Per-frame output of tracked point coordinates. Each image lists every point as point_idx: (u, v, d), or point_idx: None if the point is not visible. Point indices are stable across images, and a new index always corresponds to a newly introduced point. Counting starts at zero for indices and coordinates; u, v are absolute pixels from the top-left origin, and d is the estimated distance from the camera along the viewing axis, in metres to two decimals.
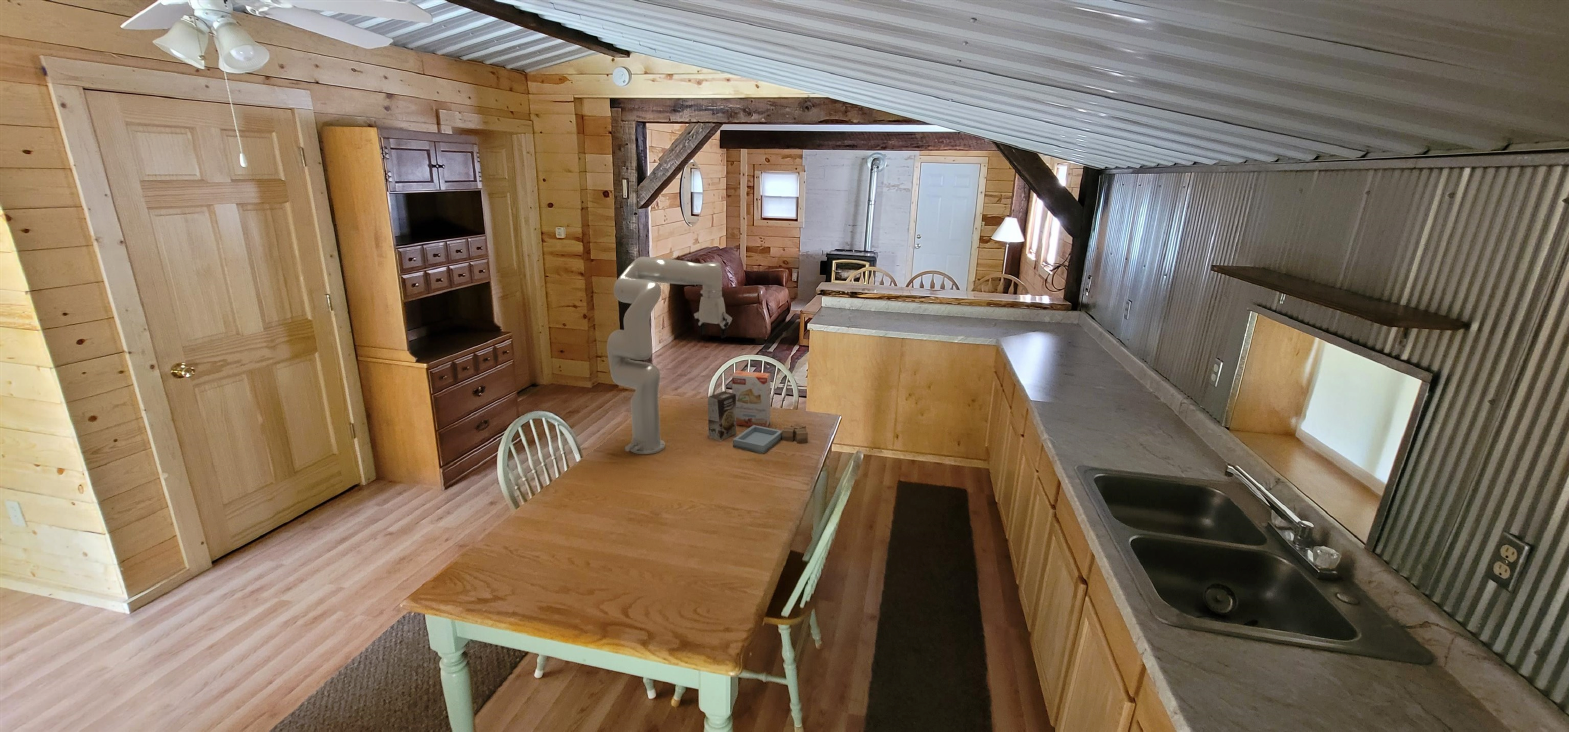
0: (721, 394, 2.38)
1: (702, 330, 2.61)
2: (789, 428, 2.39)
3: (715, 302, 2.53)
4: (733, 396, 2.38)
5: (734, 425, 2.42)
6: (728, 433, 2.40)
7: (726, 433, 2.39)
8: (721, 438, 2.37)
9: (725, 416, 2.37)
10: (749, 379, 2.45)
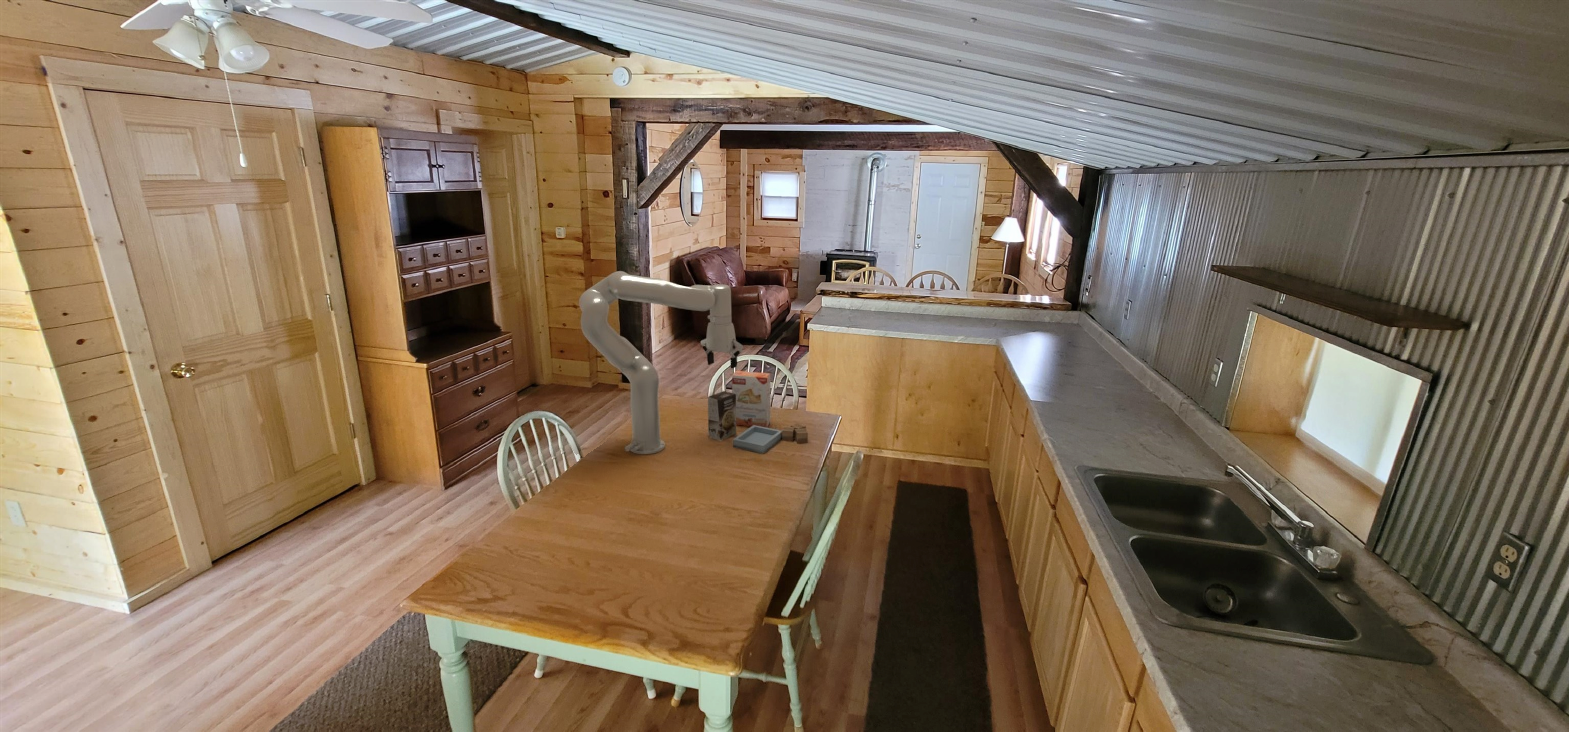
0: (721, 394, 2.38)
1: (710, 359, 2.35)
2: (789, 428, 2.39)
3: (724, 329, 2.27)
4: (733, 396, 2.38)
5: (734, 425, 2.42)
6: (728, 433, 2.40)
7: (726, 433, 2.39)
8: (721, 438, 2.37)
9: (725, 416, 2.37)
10: (749, 379, 2.45)
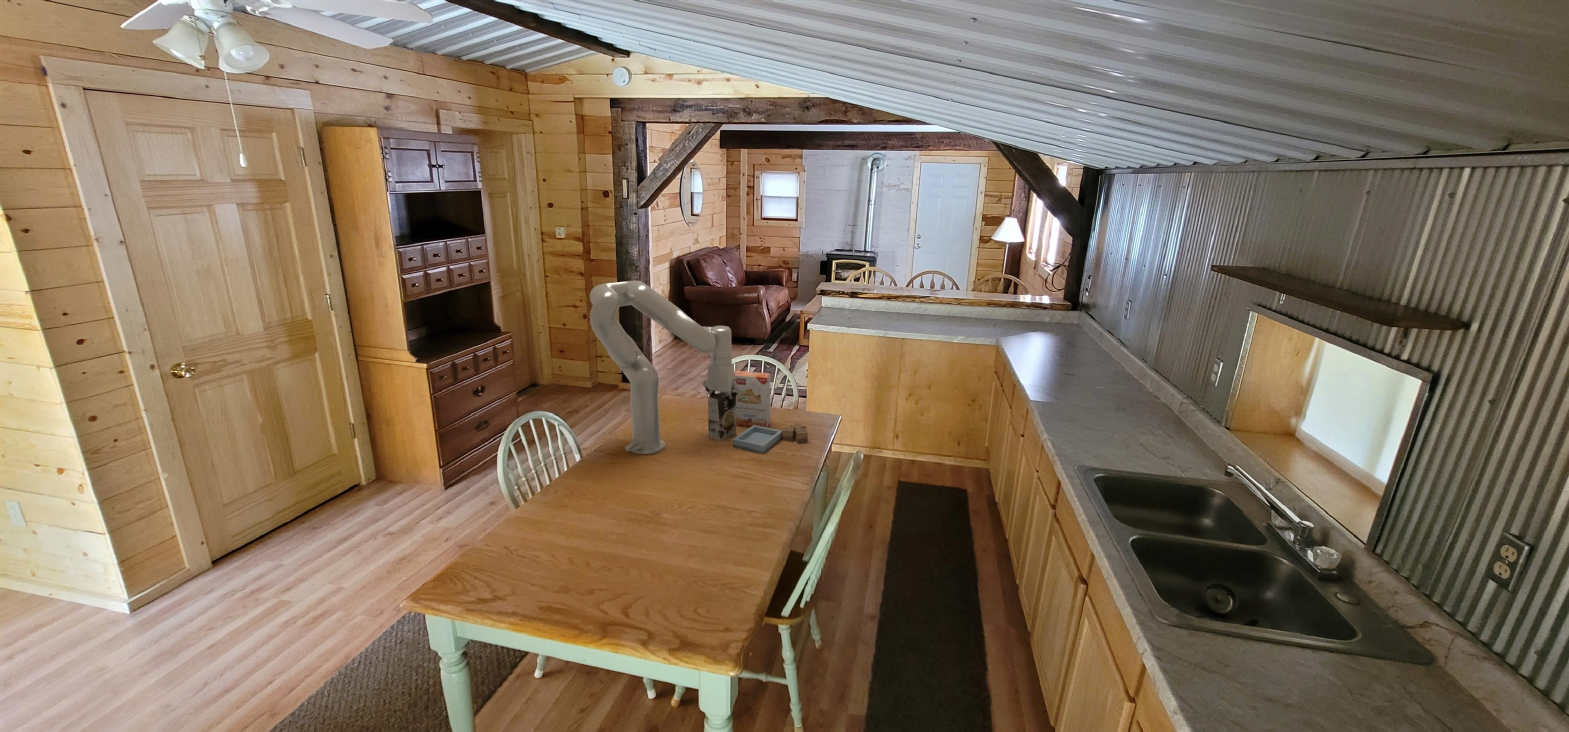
0: (721, 394, 2.38)
1: None
2: (789, 428, 2.39)
3: (724, 370, 2.31)
4: None
5: (734, 425, 2.42)
6: (728, 433, 2.40)
7: (726, 432, 2.39)
8: (721, 438, 2.37)
9: (725, 416, 2.37)
10: (749, 379, 2.45)
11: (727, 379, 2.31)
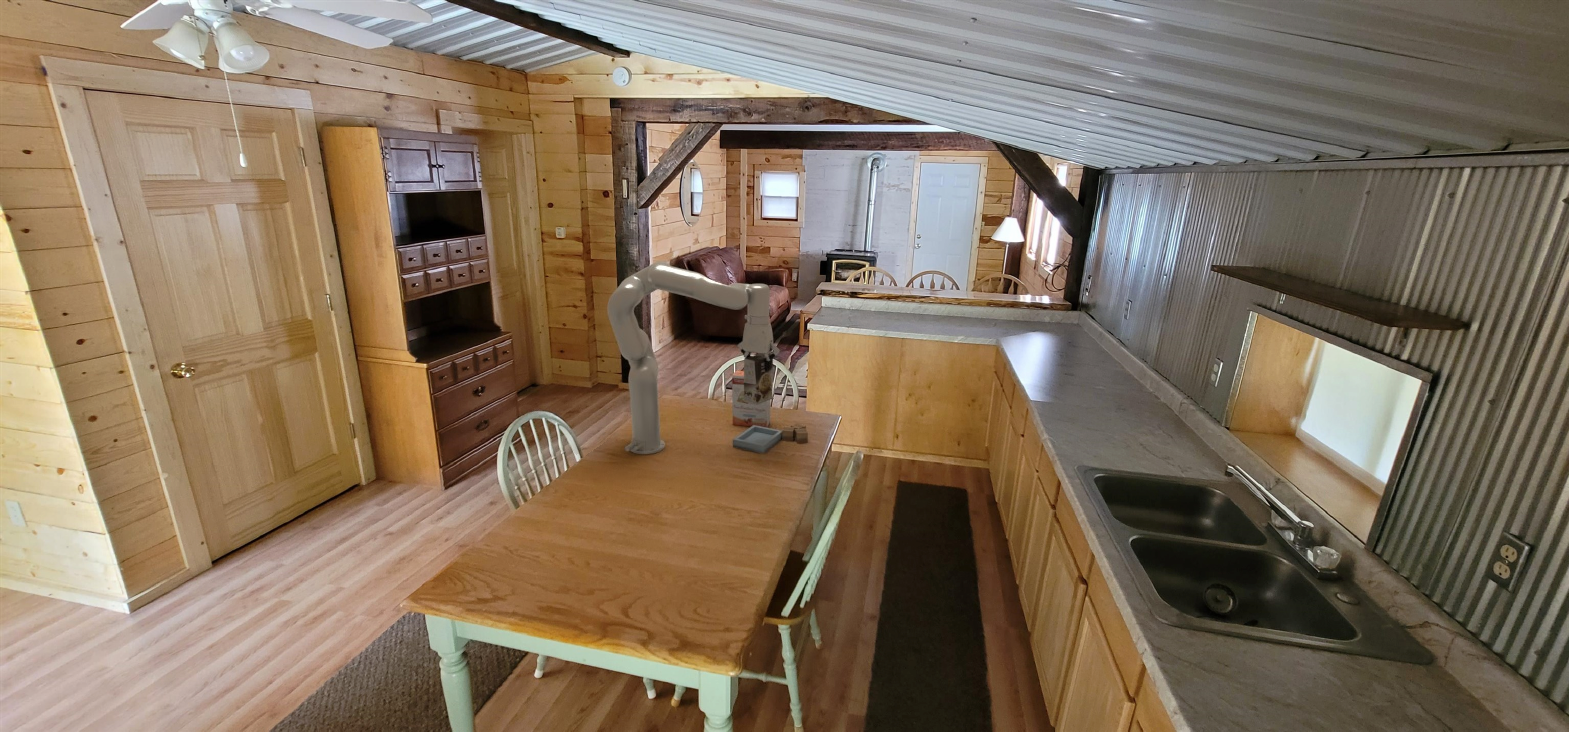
0: (758, 356, 2.28)
1: None
2: (789, 428, 2.39)
3: (762, 329, 2.20)
4: None
5: (770, 389, 2.31)
6: (765, 397, 2.29)
7: (762, 396, 2.28)
8: (758, 402, 2.27)
9: (762, 379, 2.26)
10: None
11: (765, 339, 2.21)
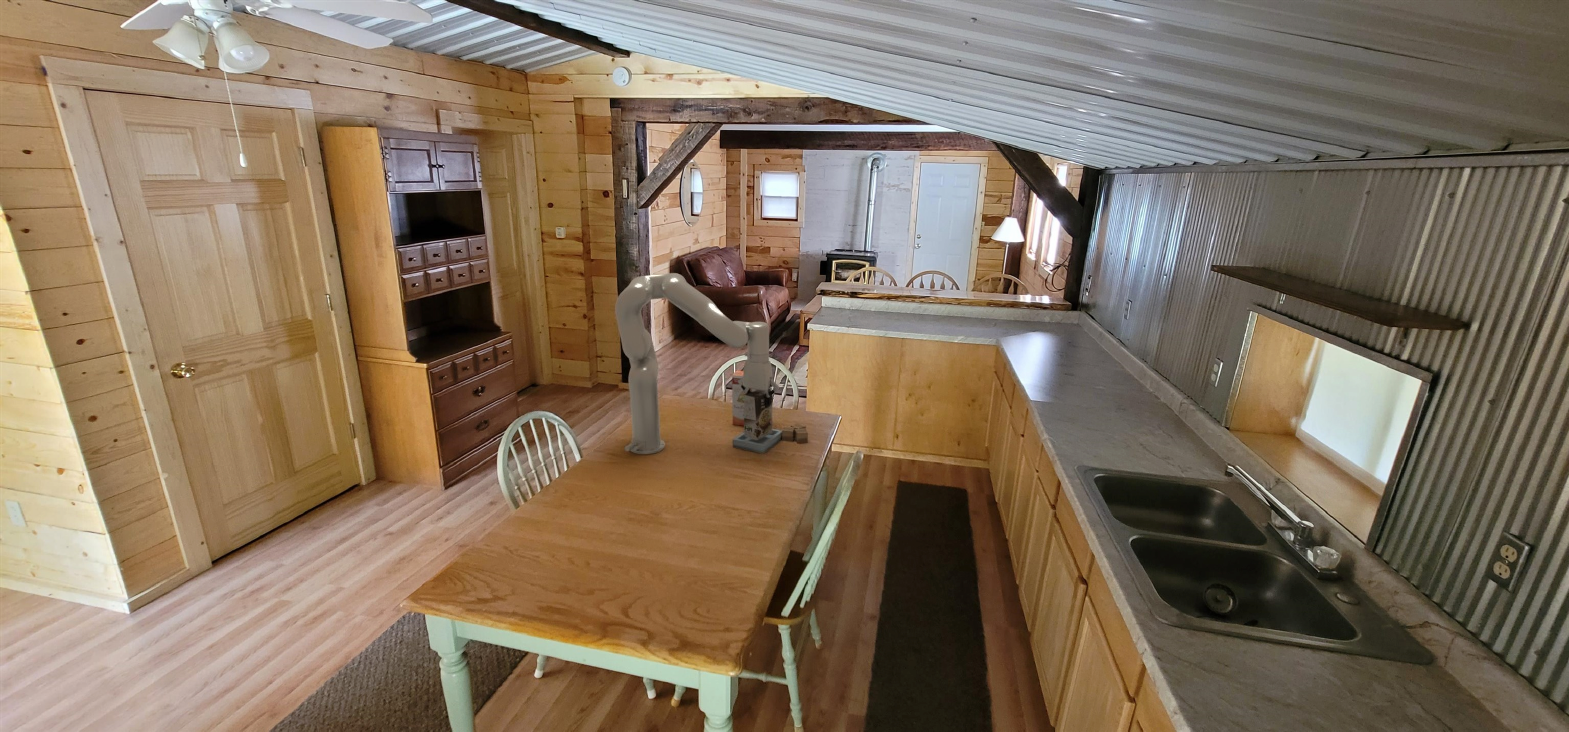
0: (757, 392, 2.32)
1: None
2: (789, 428, 2.39)
3: (762, 367, 2.24)
4: None
5: (770, 424, 2.35)
6: (765, 432, 2.33)
7: (762, 432, 2.32)
8: (758, 437, 2.30)
9: (762, 415, 2.30)
10: None
11: (764, 377, 2.25)
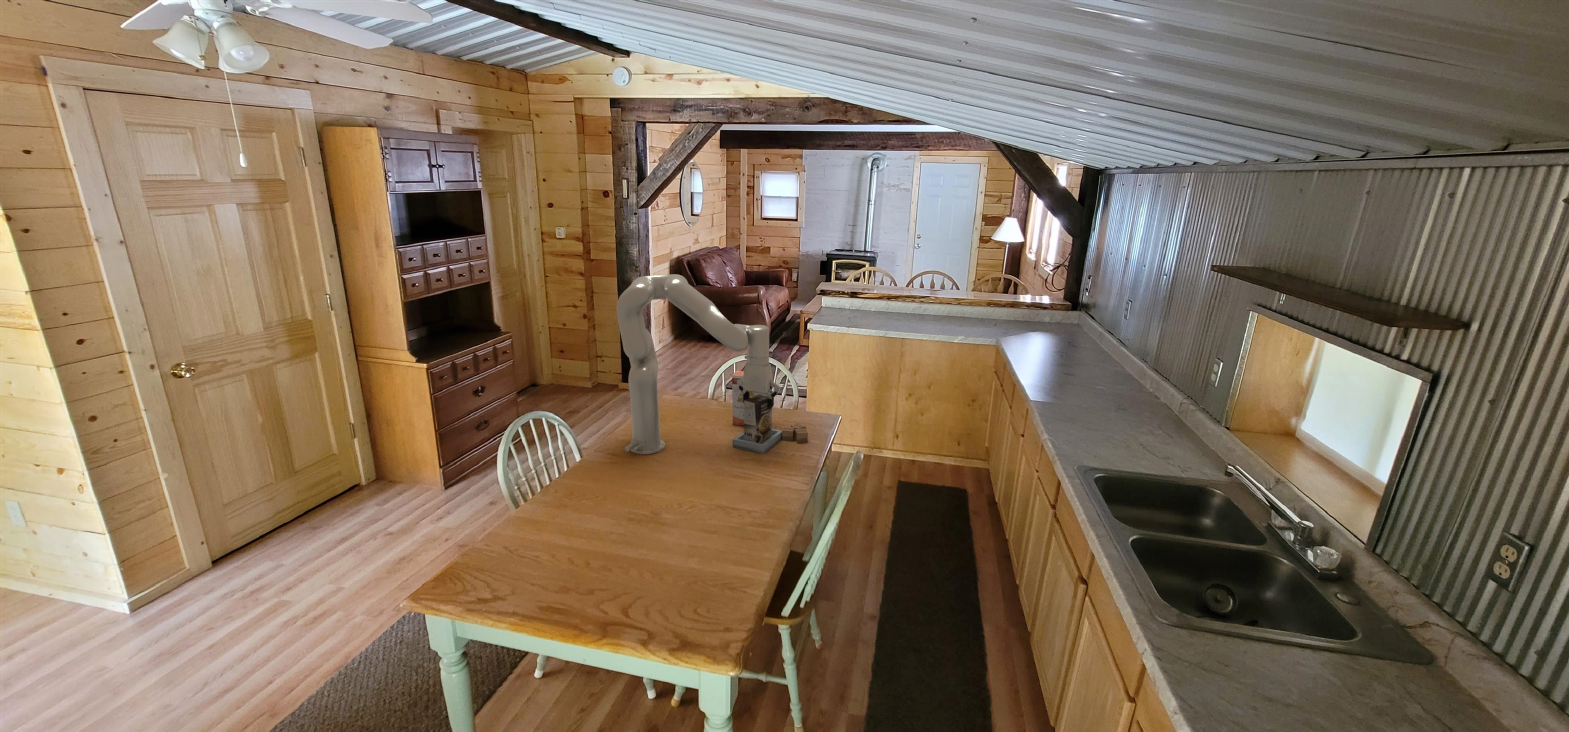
0: (757, 397, 2.32)
1: None
2: (789, 428, 2.39)
3: (762, 370, 2.24)
4: None
5: (770, 429, 2.36)
6: (765, 438, 2.34)
7: (762, 437, 2.32)
8: None
9: (762, 420, 2.30)
10: None
11: (765, 380, 2.25)
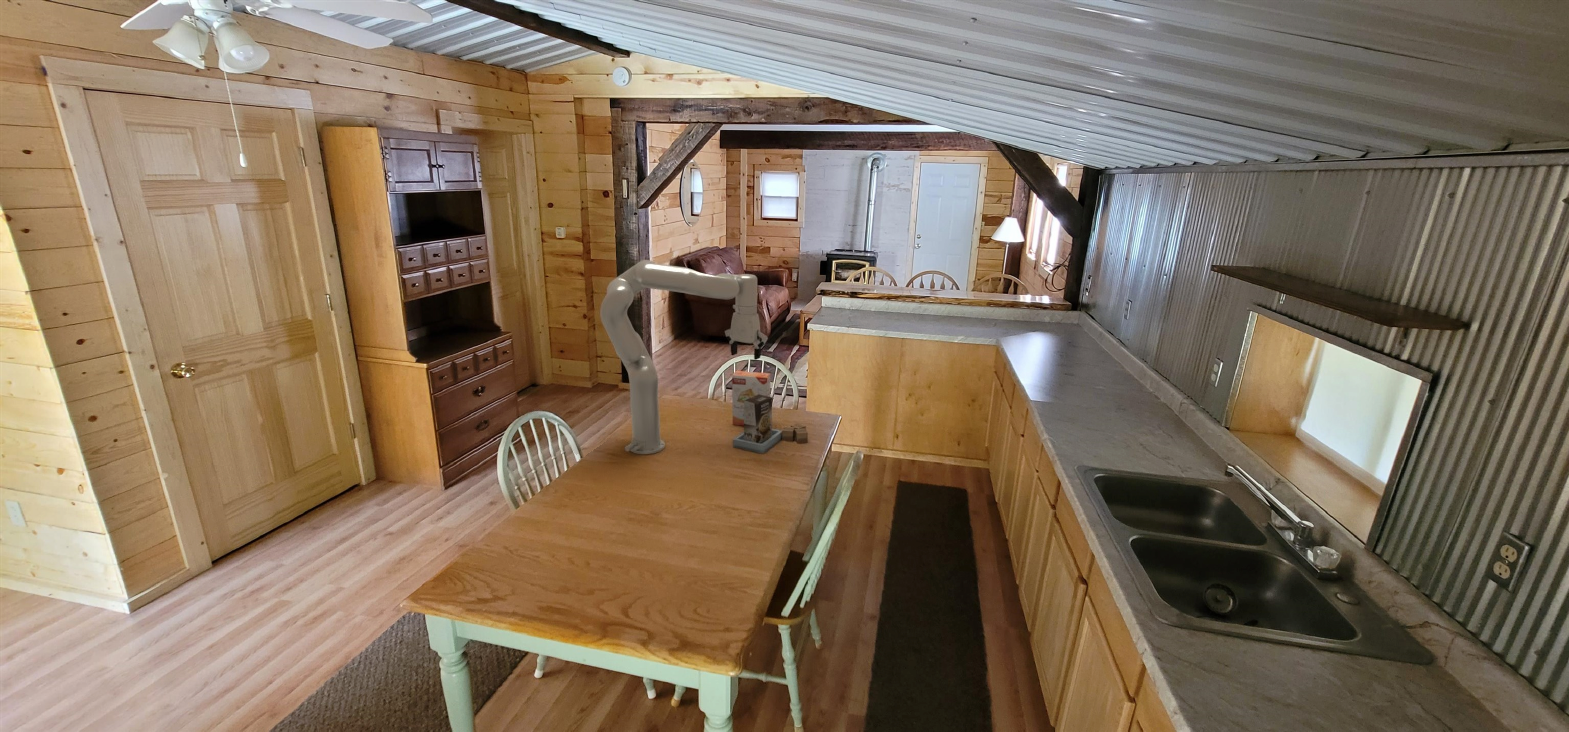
0: (757, 397, 2.32)
1: (733, 350, 2.33)
2: (789, 428, 2.39)
3: (749, 319, 2.24)
4: (769, 399, 2.32)
5: (770, 429, 2.36)
6: (765, 438, 2.34)
7: (762, 437, 2.32)
8: None
9: (762, 420, 2.30)
10: (749, 379, 2.45)
11: (752, 329, 2.25)
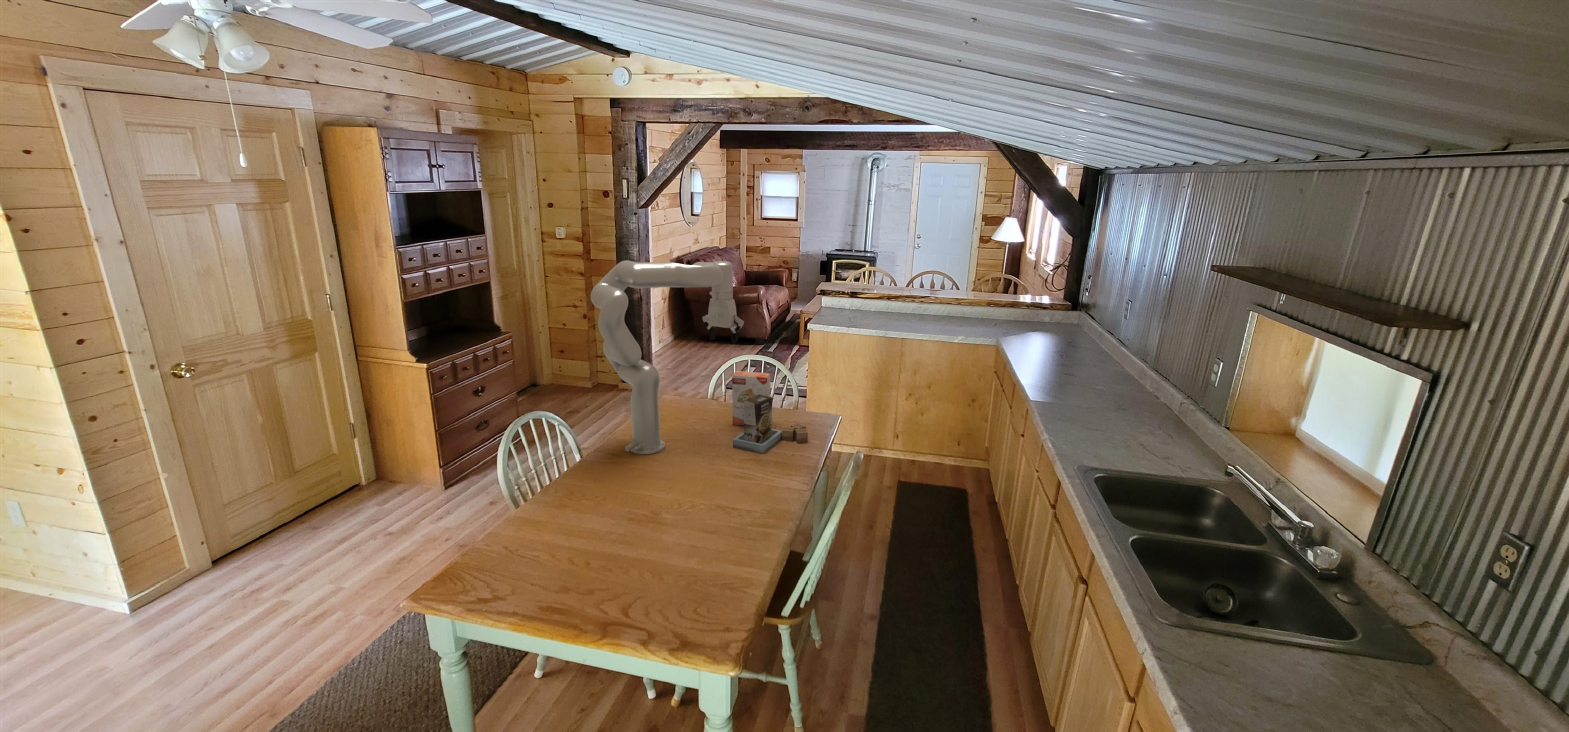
0: (757, 397, 2.32)
1: (711, 335, 2.41)
2: (789, 428, 2.39)
3: (726, 304, 2.33)
4: (769, 399, 2.32)
5: (770, 429, 2.36)
6: (765, 438, 2.34)
7: (762, 437, 2.32)
8: None
9: (762, 420, 2.30)
10: (749, 379, 2.45)
11: (728, 314, 2.34)
